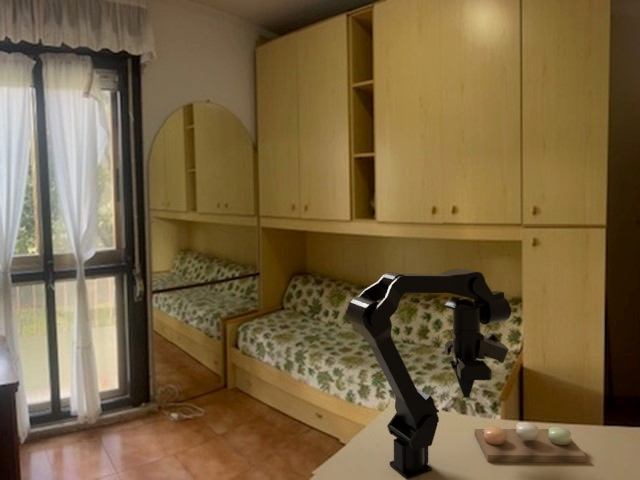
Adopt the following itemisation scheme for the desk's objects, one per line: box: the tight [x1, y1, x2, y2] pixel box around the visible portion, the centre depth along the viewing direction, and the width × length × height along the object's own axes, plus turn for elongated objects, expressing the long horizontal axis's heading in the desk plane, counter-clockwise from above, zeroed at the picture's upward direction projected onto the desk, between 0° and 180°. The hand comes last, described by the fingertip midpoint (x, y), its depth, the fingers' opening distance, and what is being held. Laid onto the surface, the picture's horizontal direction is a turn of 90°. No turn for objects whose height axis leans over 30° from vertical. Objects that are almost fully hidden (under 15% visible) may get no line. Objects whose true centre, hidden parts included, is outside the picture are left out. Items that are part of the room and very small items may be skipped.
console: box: [473, 428, 586, 463], centre depth 117 cm, size 20×12×2 cm, turn 87°
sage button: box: [548, 426, 572, 445], centre depth 117 cm, size 4×4×2 cm
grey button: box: [515, 422, 539, 440], centre depth 117 cm, size 4×4×2 cm
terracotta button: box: [483, 426, 505, 445], centre depth 117 cm, size 4×4×2 cm
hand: (466, 397), depth 116 cm, fingers closed
